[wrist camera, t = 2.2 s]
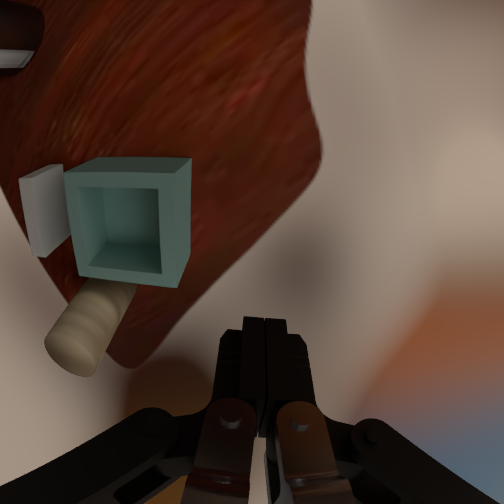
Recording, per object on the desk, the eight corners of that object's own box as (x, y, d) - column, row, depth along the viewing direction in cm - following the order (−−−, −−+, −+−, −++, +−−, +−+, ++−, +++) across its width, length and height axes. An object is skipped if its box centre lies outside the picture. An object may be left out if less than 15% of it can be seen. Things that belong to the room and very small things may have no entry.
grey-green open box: (97, 157, 19) (63, 172, 15) (191, 158, 19) (174, 173, 15) (105, 246, 22) (79, 275, 18) (190, 254, 23) (176, 287, 19)
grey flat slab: (49, 164, 19) (18, 178, 16) (62, 163, 19) (31, 178, 16) (58, 233, 22) (32, 255, 18) (71, 234, 22) (45, 257, 18)
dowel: (92, 258, 23) (36, 327, 15) (134, 263, 23) (86, 340, 15) (100, 297, 25) (55, 369, 17) (139, 302, 25) (102, 382, 17)
